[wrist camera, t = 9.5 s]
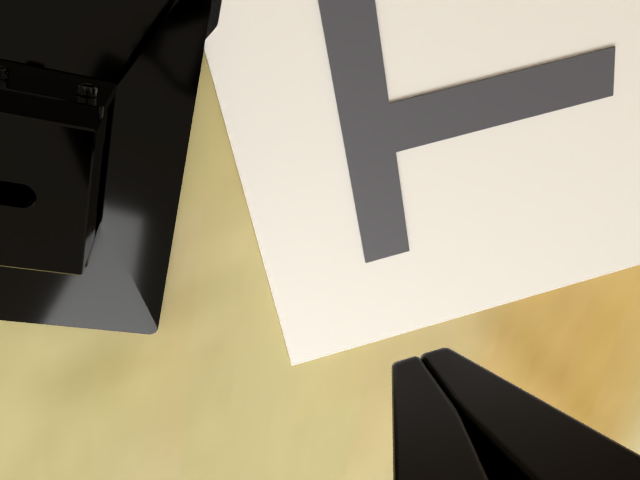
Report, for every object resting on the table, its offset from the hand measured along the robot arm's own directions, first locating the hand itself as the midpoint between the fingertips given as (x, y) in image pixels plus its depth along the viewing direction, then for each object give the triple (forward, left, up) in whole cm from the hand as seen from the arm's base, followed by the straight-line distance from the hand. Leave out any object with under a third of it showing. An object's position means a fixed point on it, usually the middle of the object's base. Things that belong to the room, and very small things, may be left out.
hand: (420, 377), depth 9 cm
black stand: (+6, -2, -11) cm, 13 cm away
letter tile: (-6, 0, -11) cm, 13 cm away
